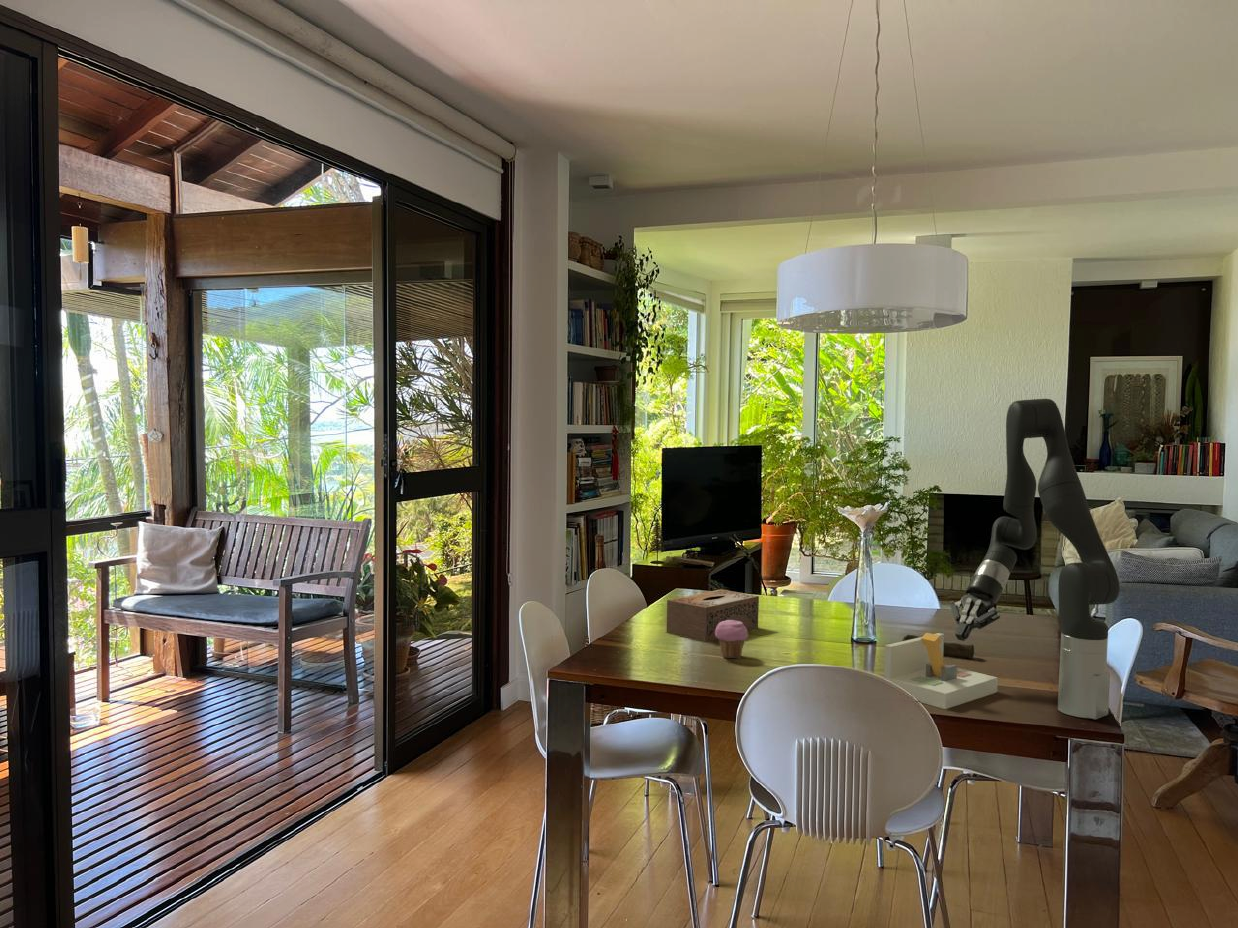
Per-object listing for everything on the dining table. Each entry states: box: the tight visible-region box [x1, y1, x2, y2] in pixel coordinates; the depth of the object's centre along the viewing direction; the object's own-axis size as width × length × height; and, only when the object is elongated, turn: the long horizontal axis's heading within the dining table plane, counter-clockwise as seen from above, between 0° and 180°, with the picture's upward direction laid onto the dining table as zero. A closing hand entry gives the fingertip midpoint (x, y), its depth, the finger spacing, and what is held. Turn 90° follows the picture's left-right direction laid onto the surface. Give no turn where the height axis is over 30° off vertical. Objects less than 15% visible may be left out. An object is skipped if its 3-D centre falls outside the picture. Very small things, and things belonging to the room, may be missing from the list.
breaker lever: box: [921, 632, 946, 676], centre depth 216 cm, size 2×4×10 cm, turn 39°
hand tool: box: [902, 634, 975, 661], centre depth 254 cm, size 19×4×5 cm, turn 60°
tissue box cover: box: [666, 589, 760, 642], centre depth 277 cm, size 26×14×10 cm, turn 136°
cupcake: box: [715, 620, 749, 659], centre depth 246 cm, size 9×9×10 cm
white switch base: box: [883, 632, 999, 710], centre depth 218 cm, size 22×16×11 cm
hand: (959, 638), depth 222 cm, fingers closed
